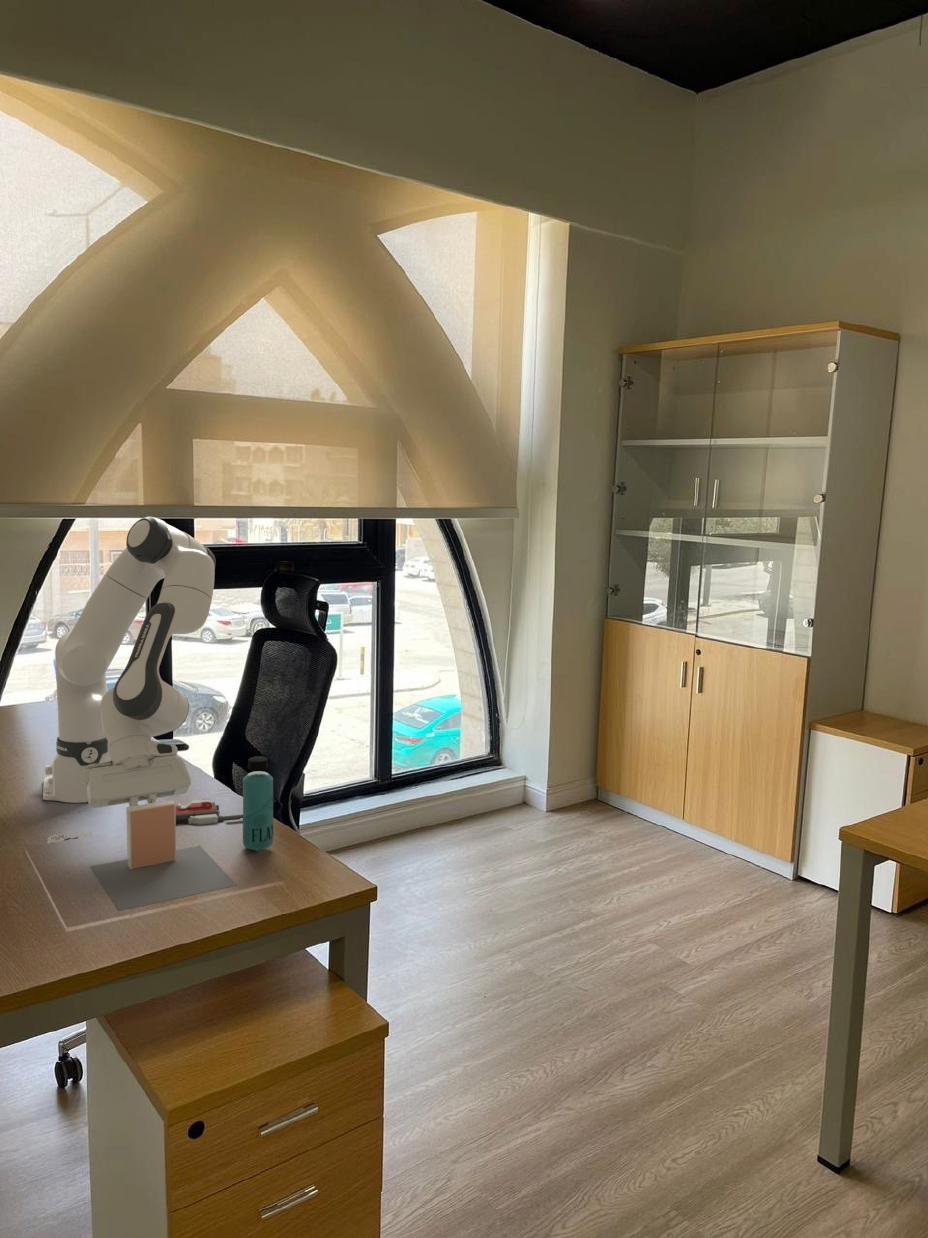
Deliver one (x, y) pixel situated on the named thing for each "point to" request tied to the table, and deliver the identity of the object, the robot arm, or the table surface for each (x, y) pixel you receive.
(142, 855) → the block
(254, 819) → the beverage bottle
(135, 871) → the mat
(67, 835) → the handheld gaming device
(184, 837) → the table surface
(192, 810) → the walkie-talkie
